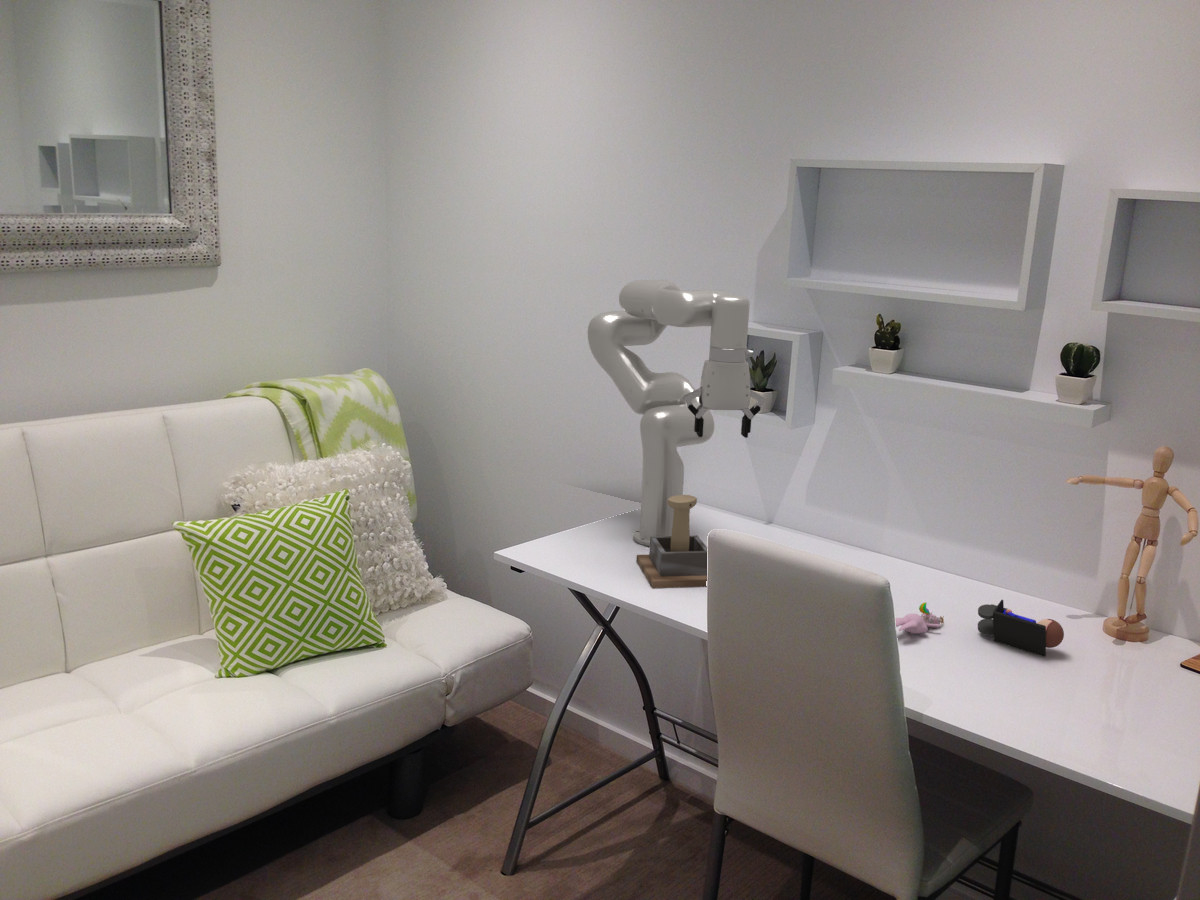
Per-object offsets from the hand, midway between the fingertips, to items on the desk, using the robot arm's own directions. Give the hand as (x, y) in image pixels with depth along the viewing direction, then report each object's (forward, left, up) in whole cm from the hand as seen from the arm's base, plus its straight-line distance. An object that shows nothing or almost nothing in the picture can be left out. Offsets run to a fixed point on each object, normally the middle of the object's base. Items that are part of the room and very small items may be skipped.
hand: (721, 435), depth 219 cm
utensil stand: (+3, -9, -29) cm, 31 cm away
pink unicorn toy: (+37, +29, -30) cm, 56 cm away
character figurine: (+45, +45, -30) cm, 70 cm away
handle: (+3, -9, -28) cm, 29 cm away
